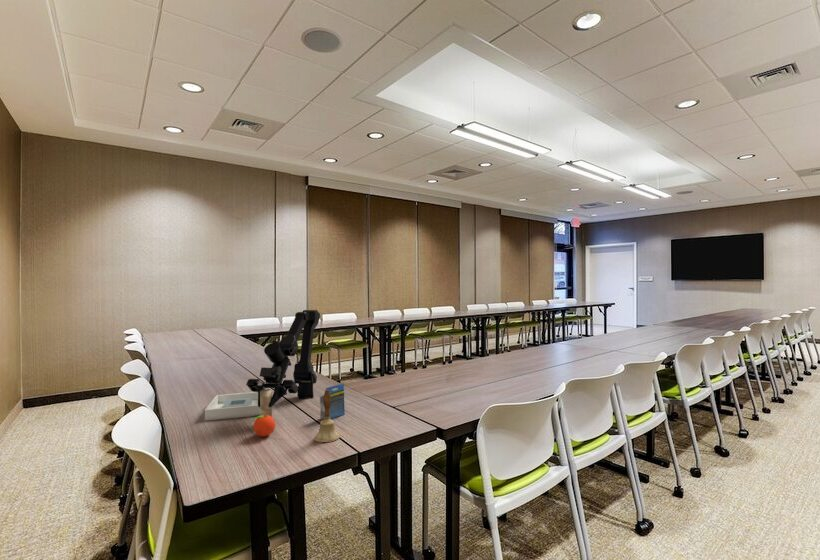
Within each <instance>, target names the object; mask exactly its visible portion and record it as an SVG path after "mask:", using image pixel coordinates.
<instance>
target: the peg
mask: <svg viewBox="0 0 820 560" xmlns="http://www.w3.org/2000/svg"><path fill="white" fill-rule="evenodd" d="M272 396H273V393H272V389H271V388H266V390H262V391H260V412H261V415H260V416H262V415H269V416H271V417H272V418H273V406H272V407H271V408H270V407H269V403H270V401H271V398H272Z"/></svg>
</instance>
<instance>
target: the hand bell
mask: <svg viewBox="0 0 820 560" xmlns="http://www.w3.org/2000/svg"><path fill="white" fill-rule="evenodd" d="M323 396H324V397H323V403H324V407H325V417H324V420H323V419H322V420H321V421H320V422H319V429H318V432H317V434H315V436H314V441H316V442H318V443H322V442H327V443H332V441H333V442H335V440H336V441H337V439H338V440H340V437H341V435H340V433H339V432H337V430H336V427H335V422H334V420H333V419H330V417H329V416H330V415H329V414H330V410H329V409H330V405H331V395H330V392H329V390H326V389H325V391H324V395H323Z"/></svg>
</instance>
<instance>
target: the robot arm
mask: <svg viewBox="0 0 820 560" xmlns="http://www.w3.org/2000/svg"><path fill="white" fill-rule="evenodd" d="M320 319H321V314H320V312H319V311H318V310H317V309H304V310H303V311H298V312H296V313H295V315H294V319H293V321H292V324H291V326H290V328H289V330H288V332H287V334H286V336H284V337H283V338H281V339H280V341H278V340H272V342H271V343H268V344H267V345H266V346H265V347H264V350H263V353H264V354H265V355H266V357H267V358H268V360H269V361H270V363H272V365H271V367H261V368H260V373H259V377H262V379H263V381H261V380H260V379H259V378H248V380H247V381H246V384H245V386H247V387H248V389H249V390H250V391H251V392H258V407H260V391H262V390H266V389H274V391H273V393H272V398H271V401H270V403H269V407H270V408H271V407H272V408H273V406H274V405H275V404H276V403H277V402H278V401H280V400H281V399H282V398H283V397H284V396H287V394H288V393H289V394H296V395H297V397H298V399H310V398H311V399H312V398H314V384H316V383H317V381H318V376H317V375H316V373H315V371H314V366H313V363H312V353H313V351H312V350H313V342H314V335H315V334H314V333H315V329H316V328H317V327H318V325H319V323H320V322H319V321H320ZM301 334H302V338H301V346H300V354H299V355H300V356H299V360H298V362H297V363H295V364H294V369H293V370H294V371H293V373H292V375H293V377H292V378H293V379H286V377H287V375H286V373H287V371H288V367H290V366H292V362H291V359H290V358H289V357H295V356H296V354H297V353H298V349H299V344H298V340H299V338H300V336H301Z"/></svg>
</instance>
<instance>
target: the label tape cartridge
mask: <svg viewBox="0 0 820 560" xmlns="http://www.w3.org/2000/svg"><path fill="white" fill-rule="evenodd" d="M334 389H335V390H334ZM325 390H329V392H330V395H331V405H330V409H329V410H330V414H329V415H330V416H329V417H330V419H331V420H333V419H334V418H338V417H341V416H343V415H345V413H346V412H345V383H344V382H343V383H340V384H336V385H332V386H329V387H325ZM323 397H324V395H322V396H320V397H319V404H320V405H319V406H320V407H319V411H320V412H319V413H320V415H319V416H320V420H322V421H323V420H324V417H325V407H324V403H323Z"/></svg>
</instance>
